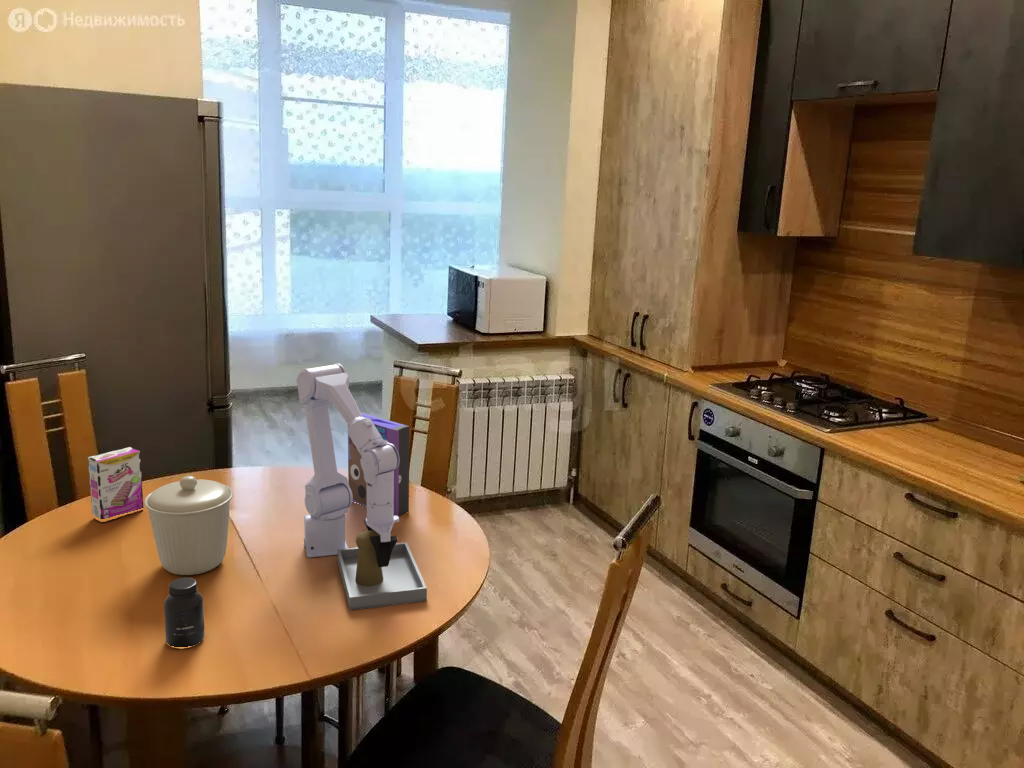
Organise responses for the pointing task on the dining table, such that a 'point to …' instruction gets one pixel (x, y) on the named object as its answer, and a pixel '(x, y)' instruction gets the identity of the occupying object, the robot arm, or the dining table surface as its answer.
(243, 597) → the dining table surface
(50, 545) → the dining table surface
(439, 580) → the dining table surface
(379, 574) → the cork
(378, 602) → the box
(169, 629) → the supplement bottle
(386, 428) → the cereal box
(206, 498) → the canister
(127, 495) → the candy bar box
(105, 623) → the dining table surface
